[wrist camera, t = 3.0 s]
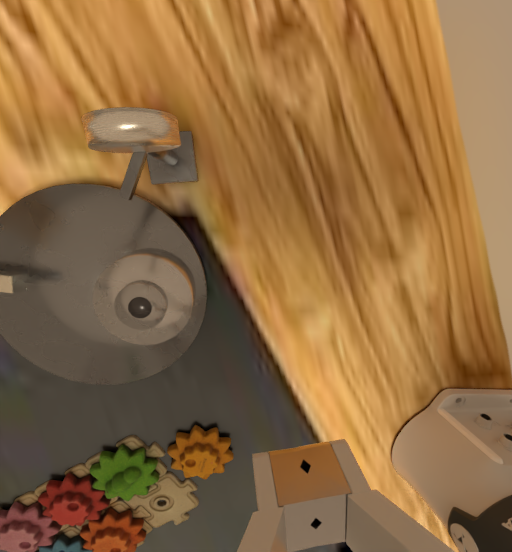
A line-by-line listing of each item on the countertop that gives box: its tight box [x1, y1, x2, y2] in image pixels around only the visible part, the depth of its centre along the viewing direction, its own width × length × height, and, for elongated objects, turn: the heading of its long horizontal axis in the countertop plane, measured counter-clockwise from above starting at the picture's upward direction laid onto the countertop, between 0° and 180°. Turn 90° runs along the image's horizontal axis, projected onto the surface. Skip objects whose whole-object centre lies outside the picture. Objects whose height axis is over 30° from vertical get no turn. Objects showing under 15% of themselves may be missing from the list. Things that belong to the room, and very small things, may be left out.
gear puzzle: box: [0, 425, 233, 552], centre depth 34 cm, size 31×16×4 cm, turn 119°
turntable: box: [0, 184, 207, 385], centre depth 25 cm, size 23×20×6 cm
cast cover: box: [93, 248, 196, 345], centre depth 25 cm, size 8×8×5 cm
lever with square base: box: [82, 107, 198, 200], centre depth 19 cm, size 4×5×14 cm
